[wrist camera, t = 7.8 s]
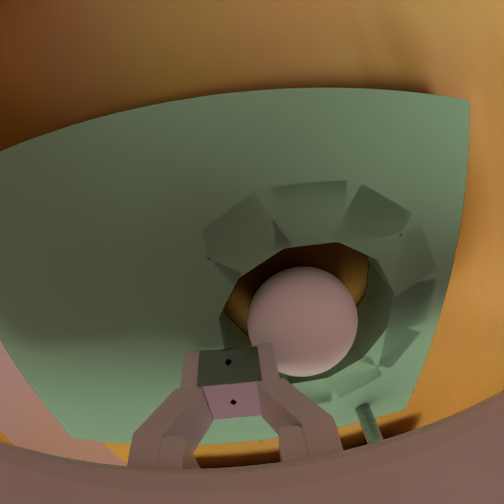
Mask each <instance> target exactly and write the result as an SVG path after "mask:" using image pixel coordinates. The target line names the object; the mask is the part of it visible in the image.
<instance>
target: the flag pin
mask: <svg viewBox="0 0 504 504" xmlns="http://www.w3.org/2000/svg"><path fill="white" fill-rule="evenodd" d="M355 411H356V414H357V416H358V419H359V422H360V425H361V427H362V430H363V433H364V436H365V439H366V441H367V444H371V443H374V442H378V441H381V440H383V437H382V435H381V432H380V429H379V427H378V424H377V422H376V419H375V417H374V414H373V412H372V410H371V407H370V405H369V404H368V403H364V404H361V405H359V406H358V407H357V408H356V409H355Z"/></svg>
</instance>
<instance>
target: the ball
mask: <svg viewBox="0 0 504 504" xmlns="http://www.w3.org/2000/svg"><path fill="white" fill-rule="evenodd" d="M357 326H358V316H357V309H356V305H355V302H354V299H353V297H352V295H351V293H350V292H349V290H348V289H347V287H346V286H345V285H344V284H343V283H342V282H341V281H340V280H339V279H338V278H336V277H335V276H334V275H332V274H330V273H329V272H326V271H324V270H321V269H318V268H314V267H302V266H301V267H293V268H289V269H285V270H283V271H280V272H278V273H276V274H275V275H273V276H272V277H270V278H269V279H267V280H266V281H265V282H264V283H263V284H262V285H261V286H260V288H259V289H258V290H257V292H256V293H255V295H254V297H253V299H252V301H251V303H250V307H249V310H248V316H247V329H248V335H249V338H250V341H251V344H252V346H253V345H259V344H266V343H272V344H273V346H274V351H275V356H276V362H277V367H278V372H280V373H283V374H286V375H290V376H299V377H305V376H313V375H317V374H320V373H323V372H325V371H327V370H329V369H331V368H332V367H334V366H335V365H336V364H338V363H339V362H340V361H341V360H342V359H343V358H344V357H345V355H346V354H347V353H348V351H349V350H350V348H351V346H352V344H353V342H354V339H355V336H356V333H357Z"/></svg>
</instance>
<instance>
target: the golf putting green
mask: <svg viewBox="0 0 504 504" xmlns="http://www.w3.org/2000/svg"><path fill="white" fill-rule="evenodd" d="M468 149H469V100H465V99H459V98H453V97H447V96H440V95H433V94H425V93H416V92H407V91H396V90H382V89H365V88H287V89H269V90H255V91H244V92H234V93H225V94H217V95H209V96H202V97H195V98H188V99H182V100H176V101H170V102H165V103H160V104H155V105H150V106H145V107H140V108H136V109H131V110H127V111H122V112H118V113H114V114H110V115H106V116H103V117H99V118H95V119H92V120H88V121H85V122H81V123H78V124H74V125H71V126H68V127H65V128H62V129H59V130H56V131H53V132H50V133H47V134H44V135H41V136H38V137H35V138H33V139H30V140H27V141H25V142H22V143H19V144H17V145H14V146H12V147H9V148H7V149H5V150H2V151H0V340H1V342H2V343H3V345H4V347H5V349H6V350H7V352H8V353H9V355H10V357H11V358H12V360H13V361H14V363H15V364H16V366H17V367H18V369H19V370H20V372H21V373H22V375H23V376H24V378H25V379H26V381H27V382H28V383H29V385H30V386H31V388H32V389H33V390H34V391H35V393H36V394H37V396H38V397H39V398H40V400H41V401H42V402H43V404H44V405H45V406H46V407H47V409H48V410H49V411H50V412H51V414H52V415H53V416H54V417H55V418H56V420H57V421H58V422H59V423H60V424H61V426H62V427H63V428H64V429H65V430H66V431H67V433H68V434H69V435H70V436H71V437H72V438H74V439H82V440H90V441H99V442H110V443H122V444H131V442H132V436H133V433H134V432H135V431H136V430H137V429H138V428H139V427H140V426H141V425H142V424H143V423H144V422H145V421H146V420H147V418H148V417H149V416H150V415H151V414H152V413H153V412H154V411H155V410H156V409H157V408H158V407H159V406H160V405H161V404H162V403H163V402H164V400H165V399H166V398H167V397H168V396H169V395H170V394H171V393H172V392H173V391H174V390H175V389H177V388H180V383H181V374H182V366H183V358H184V354H185V352H188V351H200V350H215V349H228V348H236V347H245V346H252V344H251V341H250V338H249V337H248V336H247V335H246V334H245V333H244V332H243V331H242V330H241V329H240V328H238V327H237V326H236V325H235V324H234V323H233V322H232V321H231V320H230V319H229V318H228V317H227V316H226V315H225V312H224V306H225V304H226V302H227V300H228V298H229V296H230V294H231V292H232V290H233V288H234V286H235V284H236V282H237V280H238V278H240V277H241V276H243V275H244V274H246V273H247V272H249V271H250V270H252V269H253V268H255V267H256V266H258V265H259V264H261V263H263V262H264V261H266V260H267V259H269V258H270V257H272V256H273V255H275V254H276V253H278V252H279V251H281V250H282V249H284V248H291V247H299V246H308V245H316V244H325V243H333V242H339V243H341V244H343V245H346V246H348V247H350V248H352V249H355V250H357V251H359V252H361V253H363V254H366V256H367V258H368V260H369V268H368V278H367V287H366V294H365V296H364V297H363V299H362V300H361V302H360V303H359V305H358V306H357V307H356V309H357V316H358V326H357V333H356V336H355V339H354V342H353V344H352V346H351V348H350V350H349V351H348V353H347V354H346V355H345V357H344V358H343V359H342V360H341V361H340V362H339V363H338V364H336V365H335V366H334V367H332V368H331V369H329V370H327V371H325V372H323V373H320V374H317V375H313V376H305V377H299V376H290V375H286V374H283V373H280V372H279V377H280V379H283V378H285V379H286V380H287V381H288V382H289V383H291V384H292V385H293V386H294V387H296V388H297V389H298V390H299V391H300V392H302V393H303V394H304V395H305V396H307V397H308V398H309V399H311V400H312V401H313V402H314V403H316V404H317V405H318V406H319V407H321V408H322V409H323V410H325V411H326V412H327V413H328V414H330V415H331V416H332V417H334V420H335V424H336V427H341V426H345V425H349V424H353V423H358V422H359V419H358V416H357V414H356V411H355V409H356V408H357V407H358V406H359V405H361V404H364V403H368V404H369V405H370V407H371V410H372V412H373V414H374V417H375V418H377V417H380V416H384V415H387V414H391V413H394V412H397V411H400V410H403V409H406V406H407V404H408V402H409V399H410V397H411V395H412V392H413V390H414V388H415V385H416V383H417V380H418V378H419V375H420V373H421V370H422V367H423V365H424V362H425V359H426V356H427V354H428V351H429V348H430V345H431V342H432V339H433V336H434V333H435V330H436V327H437V323H438V320H439V317H440V313H441V310H442V306H443V303H444V299H445V295H446V291H447V288H448V284H449V279H450V275H451V271H452V266H453V262H454V257H455V252H456V247H457V242H458V236H459V231H460V225H461V218H462V211H463V204H464V196H465V187H466V177H467V165H468ZM273 438H279V436H278V434H277V433H276V432H275V431H274V430H273V429H272V428H271V426H270V425H269V424H268V423H267V422H266V421H265V420H264V419H263V418H262V416H250V417H237V418H228V419H218V420H213V423H212V424H211V426H210V428H209V429H208V431H207V432H206V434H205V435H204V437H203V438H202V440H201V441H200V443H199V444H198V445H206V444H223V443H237V442H247V441H257V440H266V439H273Z"/></svg>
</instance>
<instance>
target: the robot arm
mask: <svg viewBox="0 0 504 504" xmlns="http://www.w3.org/2000/svg"><path fill="white" fill-rule="evenodd" d="M250 416H262V418H263V419H264V420H265V421H266V422H267V423H268V424H269V425H270V426H271V428H272V429H273V430H274V431H275V432H276V433H277V434H278V436H279V452H280V462H278V463H270V464H262V465H252V466H241V467H227V468H206V469H201V468H200V466H199V464H198V463H197V461H196V459H195V457H194V456H193V454H192V453H193V452H194V450H195V449H196V447H197V446H198V444H199V443H200V441H201V440H202V438H203V437H204V435H205V434H206V432H207V431H208V429H209V428H210V426H211V424H212V423H213V420H218V419H228V418H237V417H250ZM0 504H504V390H503V391H501V392H499V393H497V394H495V395H494V396H492V397H490V398H488V399H486V400H484V401H482V402H480V403H478V404H475V405H473V406H471V407H469V408H467V409H465V410H462V411H460V412H458V413H456V414H453V415H451V416H449V417H446V418H444V419H441V420H439V421H436V422H434V423H431V424H429V425H426V426H423V427H421V428H418V429H415V430H412V431H409V432H406V433H403V434H400V435H397V436H394V437H391V438H388V439H384V440H381V441H378V442H374V443H371V444H367V445H363V446H359V447H356V448H352V449H347V450H343V447H342V444H341V440H340V437H339V434H338V430H337V427H336V424H335V420H334V417H332V416H331V415H330V414H328V413H327V412H326V411H325V410H323V409H322V408H321V407H319V406H318V405H317V404H316V403H314V402H313V401H312V400H311V399H309V398H308V397H307V396H305V395H304V394H303V393H302V392H300V391H299V390H298V389H297V388H296V387H294V386H293V385H292V384H291V383H289V382H288V381H287V380H286V379H285V378H283V379H280V377H279V372H278V367H277V362H276V356H275V351H274V346H273V344H272V343H266V344H259V345H253V346H245V347H236V348H228V349H215V350H200V351H188V352H185V354H184V358H183V366H182V374H181V383H180V388H177V389H175V390H174V391H173V392H172V393H171V394H170V395H169V396H168V397H167V398H166V399H165V400H164V402H163V403H162V404H161V405H160V406H159V407H158V408H157V409H156V410H155V411H154V412H153V413H152V414H151V415H150V416H149V417H148V418H147V420H146V421H145V422H144V423H143V424H142V425H141V426H140V427H139V428H138V429H137V430H136V431H135V432H134V433H133V436H132V442H131V447H130V453H129V458H128V464H127V466H119V465H110V464H101V463H94V462H87V461H81V460H75V459H70V458H64V457H59V456H54V455H50V454H45V453H41V452H37V451H33V450H29V449H25V448H21V447H17V446H14V445H11V444H8V443H4V442H1V441H0Z"/></svg>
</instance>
